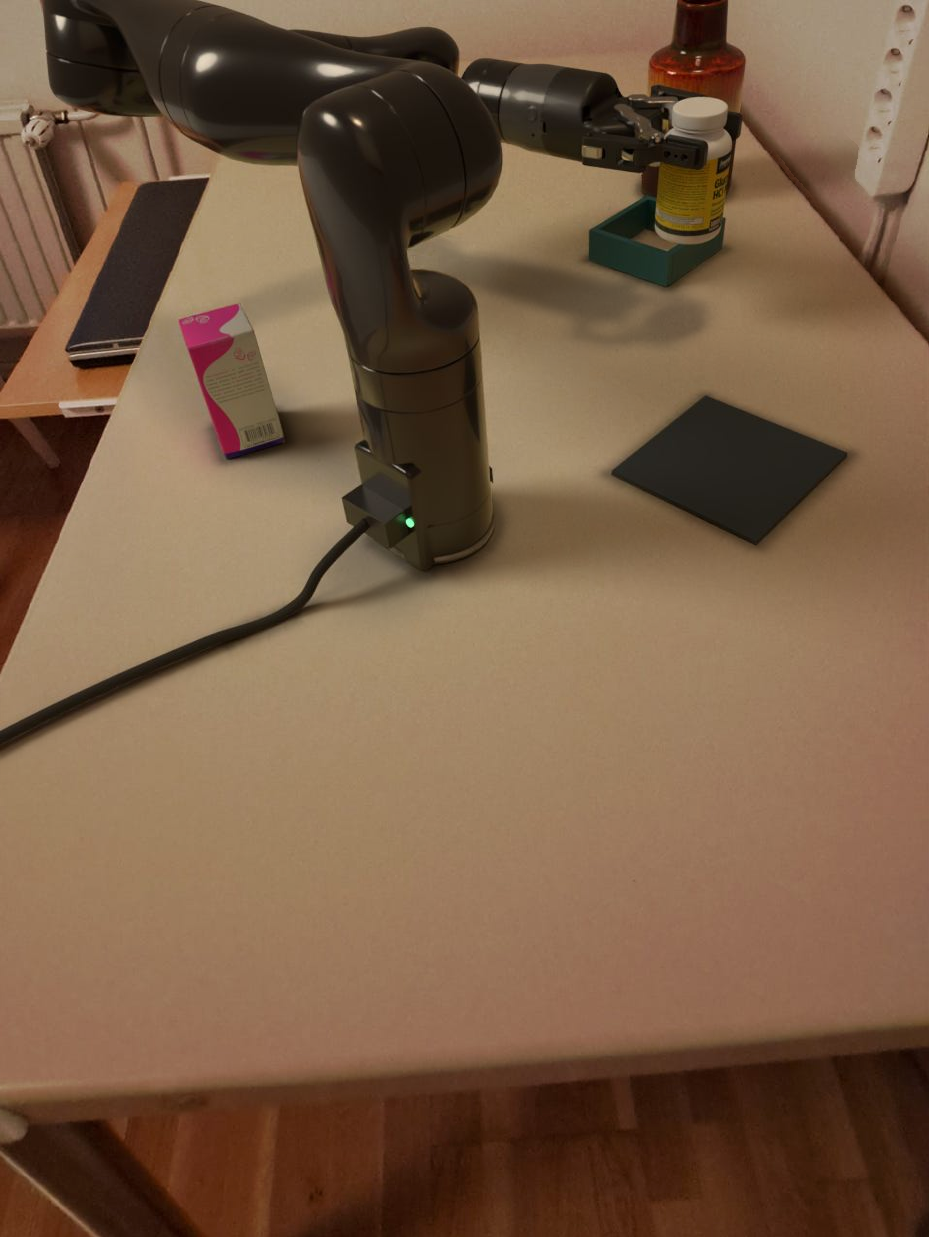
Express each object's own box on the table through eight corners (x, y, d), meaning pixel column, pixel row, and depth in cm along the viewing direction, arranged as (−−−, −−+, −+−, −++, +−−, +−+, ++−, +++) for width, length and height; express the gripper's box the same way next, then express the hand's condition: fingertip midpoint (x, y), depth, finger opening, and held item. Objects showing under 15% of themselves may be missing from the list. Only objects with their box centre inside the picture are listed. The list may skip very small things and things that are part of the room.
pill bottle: (720, 247, 86) (736, 120, 78) (651, 246, 87) (661, 119, 79) (721, 217, 90) (738, 92, 82) (656, 216, 91) (666, 93, 83)
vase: (739, 175, 117) (764, -16, 103) (717, 212, 111) (740, 14, 96) (655, 166, 121) (668, -19, 106) (629, 202, 115) (639, 10, 100)
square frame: (666, 287, 100) (669, 255, 98) (588, 260, 106) (588, 229, 103) (722, 248, 105) (726, 217, 102) (644, 224, 110) (646, 194, 108)
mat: (756, 544, 73) (756, 541, 72) (611, 474, 80) (611, 470, 79) (846, 456, 79) (848, 452, 79) (705, 398, 86) (705, 394, 86)
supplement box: (271, 410, 90) (241, 299, 82) (286, 443, 86) (256, 331, 78) (212, 426, 89) (176, 316, 81) (224, 461, 85) (187, 349, 77)
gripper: (596, 127, 95) (751, 156, 88) (518, 181, 88) (680, 218, 80) (599, 44, 90) (764, 67, 82) (515, 94, 82) (689, 125, 75)
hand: (722, 141), depth 81 cm, fingers closed on pill bottle, 6 cm apart
